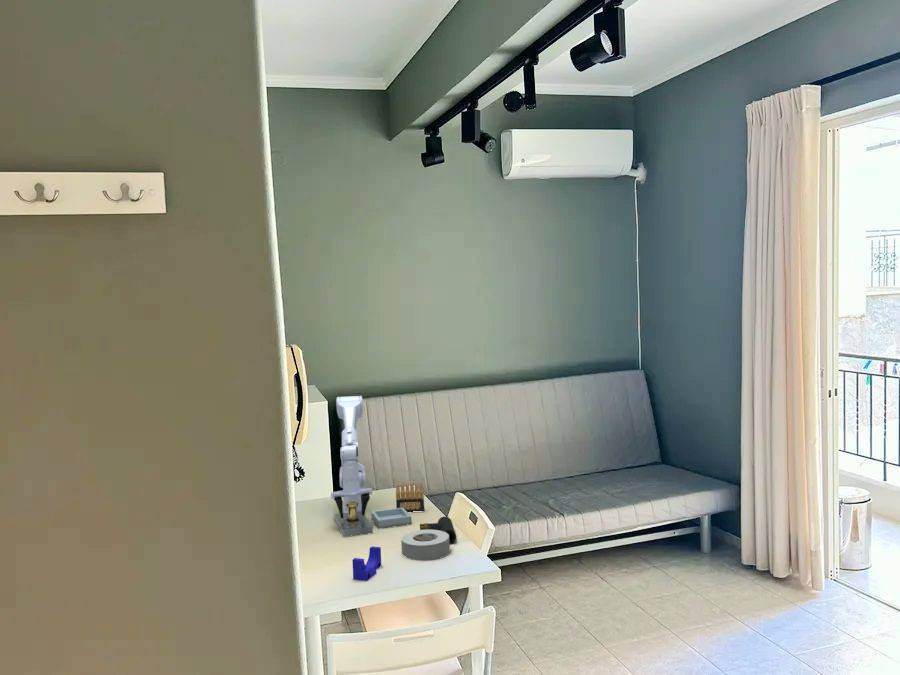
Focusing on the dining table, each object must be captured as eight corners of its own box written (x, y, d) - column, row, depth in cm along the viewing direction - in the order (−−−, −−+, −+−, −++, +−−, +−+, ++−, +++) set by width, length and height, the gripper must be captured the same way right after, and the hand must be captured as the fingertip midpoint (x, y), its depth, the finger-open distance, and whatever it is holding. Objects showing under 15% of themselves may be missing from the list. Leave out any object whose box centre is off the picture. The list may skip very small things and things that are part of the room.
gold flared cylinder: (345, 525, 273) (344, 502, 272) (357, 524, 274) (356, 500, 274) (348, 529, 269) (346, 505, 268) (360, 527, 270) (359, 504, 270)
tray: (371, 519, 280) (371, 511, 279) (403, 515, 283) (402, 507, 283) (378, 528, 268) (378, 520, 268) (411, 524, 272) (411, 516, 272)
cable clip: (366, 581, 221) (366, 561, 220) (353, 579, 222) (352, 559, 222) (385, 566, 232) (385, 547, 231) (372, 565, 233) (371, 546, 233)
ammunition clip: (424, 510, 289) (423, 479, 288) (424, 512, 287) (423, 480, 286) (396, 511, 288) (395, 480, 288) (396, 513, 287) (395, 481, 286)
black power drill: (421, 530, 249) (418, 517, 264) (421, 546, 249) (419, 532, 264) (456, 529, 250) (451, 515, 265) (456, 545, 250) (451, 530, 265)
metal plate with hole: (334, 520, 280) (334, 514, 279) (361, 517, 283) (361, 510, 282) (343, 537, 261) (343, 529, 260) (372, 533, 264) (372, 526, 263)
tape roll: (410, 564, 234) (410, 547, 233) (395, 548, 248) (395, 533, 247) (457, 556, 239) (456, 540, 239) (439, 541, 253) (439, 526, 253)
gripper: (332, 483, 264) (334, 521, 265) (373, 478, 269) (374, 516, 270) (329, 478, 271) (330, 516, 272) (369, 474, 276) (370, 511, 276)
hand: (352, 516), depth 271 cm, fingers open, 7 cm apart
